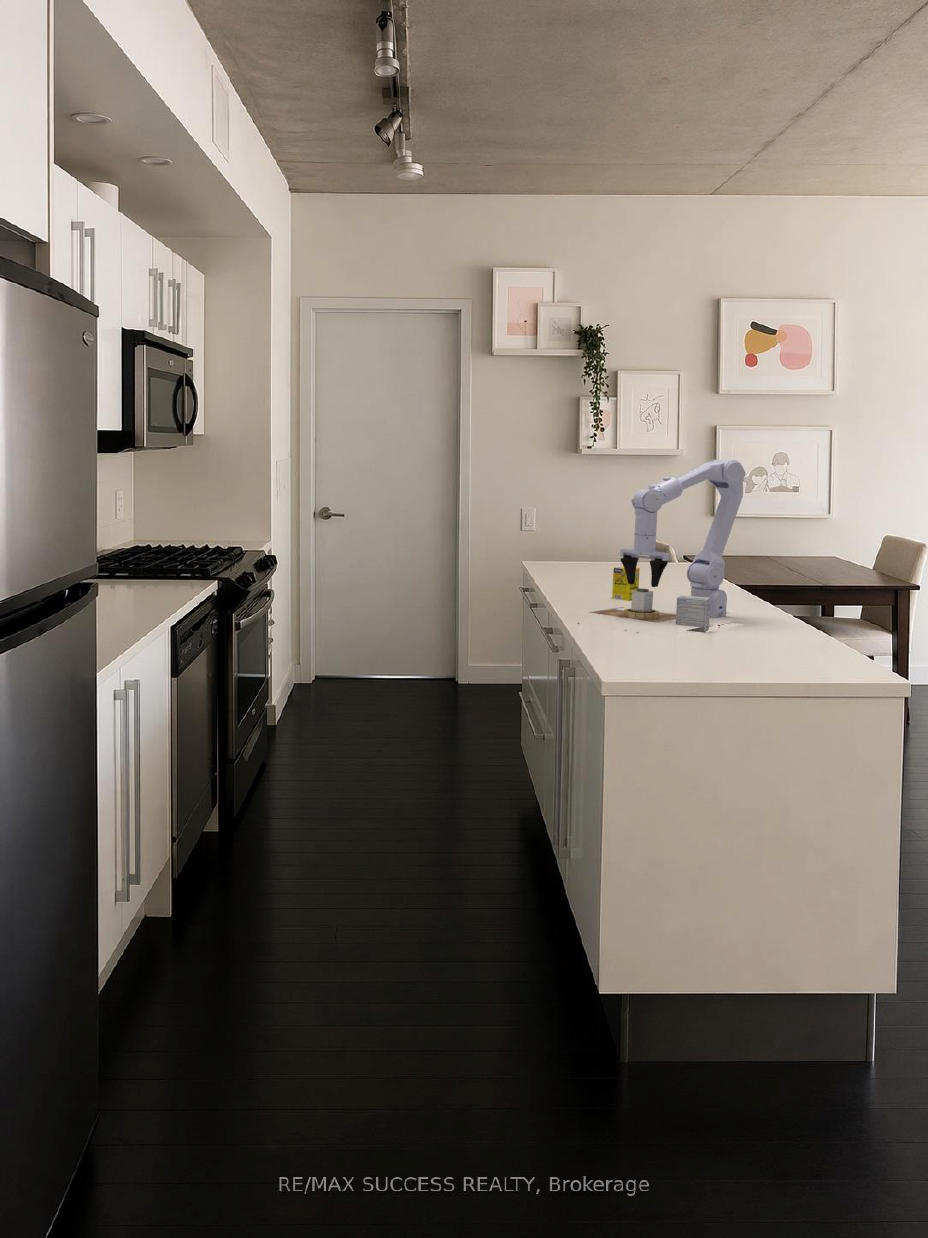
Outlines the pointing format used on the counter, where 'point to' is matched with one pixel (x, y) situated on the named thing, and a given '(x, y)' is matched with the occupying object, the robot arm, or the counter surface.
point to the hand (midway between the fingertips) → (642, 585)
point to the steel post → (642, 601)
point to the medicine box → (693, 612)
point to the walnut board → (621, 614)
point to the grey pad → (622, 609)
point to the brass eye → (641, 614)
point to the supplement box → (623, 584)
